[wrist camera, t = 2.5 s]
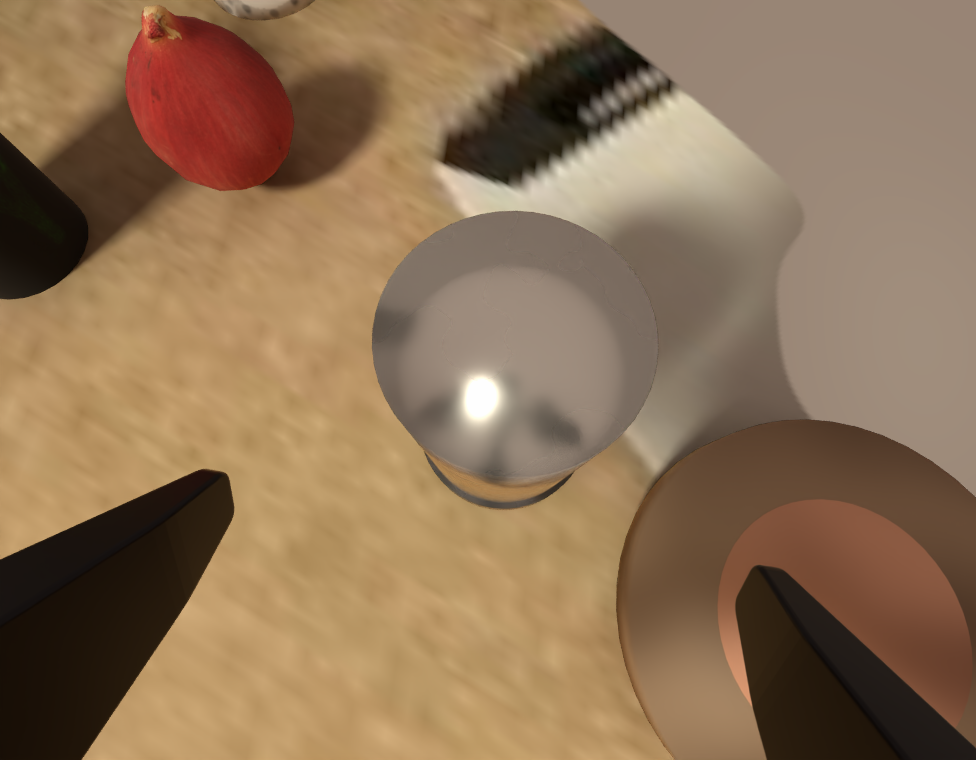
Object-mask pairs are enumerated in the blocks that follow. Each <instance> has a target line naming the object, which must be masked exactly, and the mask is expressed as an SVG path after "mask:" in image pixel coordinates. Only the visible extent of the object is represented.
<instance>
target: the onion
mask: <svg viewBox="0 0 976 760" xmlns="http://www.w3.org/2000/svg"><path fill="white" fill-rule="evenodd" d="M125 84H126V96H127V100H128V104H129V108H130V110H131V113H132V115H133V118H134V120H135V123H136V125H137V127H138V129H139V131H140V133H141V135H142V137H143V139H144V141H145V142H146V143H147V144H148V146H149V147H150V148H151V149H152V151H153V152H154V153H155V154H156V155H157V156H158V157H159V158H160V159H162V160H163V161H164V162H165V163H167V164H168V165H169V166H170V167H171V168H173V169H174V170H175V171H176V172H177V173H179V174H180V175H181V176H182V177H183V178H185V179H186V180H188V181H191V182H194V183H197V184H201V185H204V186H207V187H210V188H213V189H216V190H219V191H226V190H243V189H248V188H251V187H254V186H257V185H260V184H262V183H263V182H265V181H266V180H267V179H268V178H270V177H271V176H272V175H273V174H274V173H275V172H276V171H277V169H278V168H279V167H280V165H281V164H282V162H283V161H284V159H285V158H286V157H287V155H288V153H289V148H290V144H291V139H292V133H293V128H294V118H293V113H292V107H291V104H290V101H289V99H288V97H287V95H286V92H285V90H284V88H283V86H282V84H281V82H280V80H279V79H278V77H277V75H276V74H275V72H274V70H273V69H272V67H271V66H270V65H269V64H268V63H267V62H266V60H265V59H264V58H263V57H262V56H261V55H260V54H259V53H258V52H257V51H255V50H254V49H253V48H252V47H251V46H249V45H248V44H247V43H246V42H245V41H243V40H242V39H241V38H239V37H238V36H237V35H235V34H234V33H232V32H230V31H228V30H226V29H224V28H222V27H220V26H217V25H214V24H211V23H209V22H206V21H203V20H200V19H197V18H194V17H187V16H175V15H173V14H172V13H171V12H169V11H168V10H167V9H166V8H164V7H162V6H160V5H154V6H149V7H144V10H143V12H142V30H141V31H140V32H139V34H138V36H137V38H136V40H135V42H134V44H133V46H132V48H131V50H130V52H129V55H128V64H127V72H126V80H125Z"/></svg>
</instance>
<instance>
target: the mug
mask: <svg viewBox="0 0 976 760" xmlns="http://www.w3.org/2000/svg"><path fill="white" fill-rule="evenodd" d="M313 1H314V0H215V2H216V3H217V4H218V5H219V6H220V7H221V8H222V9H224V10H225V11H226V12H228V13H230V14H232V15H234V16H237V17H240V18H244V19H250V20H270V19H277V18H282V17H285V16H288V15H291V14H294V13H296V12H298V11H300V10H302V9H304V8H306V7H307V6H308V5H310V4H311V3H312V2H313Z"/></svg>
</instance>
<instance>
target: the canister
mask: <svg viewBox="0 0 976 760" xmlns="http://www.w3.org/2000/svg"><path fill="white" fill-rule="evenodd" d="M372 351H373V360H374V366H375V370H376V374H377V378H378V382H379V384H380V387H381V389H382V392H383V394H384V396H385V399H386V400H387V402H388V404H389V406H390V407H391V409H392V411H393V412H394V414H395V415H396V417H397V418H398V419H399V421H400V422H401V423H402V424H403V426H404V427H405V428H406V429H407V431H408V432H409V433H410V434H411V435H412V437H413V438H414V439H415V440H416V442H417V443H418V444H419V445H420V446H421V448H422V449H423V450H424V452H425V455H426V457H427V459H428V462H429V464H430V465H431V467H432V469H433V470H434V472H435V473H436V475H437V476H438V477H439V478H440V480H441V481H442V482H443V483H444V484H445V485H446V486H447V487H448V488H449V489H450V490H451V491H452V492H454V493H455V494H457V495H458V496H459V497H461V498H463V499H464V500H466V501H468V502H470V503H472V504H475V505H478V506H480V507H485V508H489V509H497V510H512V509H518V508H523V507H526V506H529V505H533V504H535V503H537V502H539V501H541V500H543V499H545V498H546V497H548V496H549V495H551V494H552V493H554V492H555V491H557V490H558V489H559V488H560V487H561V486H562V485H564V484H565V482H566V481H567V480H568V479H569V478H570V477H571V475H572V474H573V472H574V471H575V470H576V469H578V468H579V467H581V466H582V465H583V464H585V463H586V462H588V461H589V460H590V459H592V458H593V457H595V456H596V455H597V454H599V453H600V452H601V451H603V450H604V449H606V448H607V447H608V446H609V445H610V444H612V443H613V442H614V441H615V440H616V439H617V438H618V437H620V436H621V435H622V434H623V432H624V431H625V430H626V429H627V428H628V427H629V425H630V424H631V423H632V422H633V421H634V419H635V418H636V416H637V414H638V413H639V411H640V410H641V408H642V407H643V405H644V403H645V401H646V398H647V396H648V394H649V392H650V389H651V386H652V383H653V379H654V376H655V372H656V366H657V359H658V333H657V326H656V320H655V316H654V312H653V309H652V306H651V302H650V300H649V298H648V296H647V293H646V291H645V289H644V287H643V285H642V283H641V282H640V280H639V279H638V277H637V275H636V274H635V272H634V271H633V270H632V268H631V267H630V266H629V265H628V263H627V262H626V261H625V260H624V258H623V257H621V256H620V255H619V254H618V253H617V252H616V251H615V250H614V249H613V248H612V247H611V246H610V245H608V244H607V243H606V242H604V241H603V240H602V239H600V238H599V237H598V236H596V235H595V234H593V233H591V232H589V231H588V230H586V229H584V228H583V227H580V226H578V225H576V224H573V223H571V222H569V221H567V220H563V219H560V218H557V217H554V216H550V215H545V214H540V213H535V212H524V211H501V212H493V213H486V214H480V215H477V216H473V217H469V218H466V219H463V220H460V221H458V222H455V223H453V224H450V225H448V226H446V227H445V228H443V229H441V230H439V231H437V232H435V233H434V234H432V235H431V236H430V237H428V238H427V239H425V240H424V241H422V242H421V243H420V244H419V245H418V246H417V247H415V248H414V249H413V250H412V251H411V252H410V253H409V254H408V255H407V256H406V257H405V258H404V260H403V261H402V262H401V263H400V264H399V265H398V267H397V268H396V270H395V271H394V273H393V274H392V276H391V277H390V279H389V280H388V282H387V284H386V286H385V288H384V291H383V293H382V295H381V297H380V300H379V303H378V306H377V310H376V313H375V319H374V324H373V333H372Z"/></svg>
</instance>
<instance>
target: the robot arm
mask: <svg viewBox="0 0 976 760" xmlns="http://www.w3.org/2000/svg"><path fill="white" fill-rule="evenodd" d="M233 515H234V502H233V497H232V491H231V486H230V480H229V477H228V475H227V474H226V473H224V472H221V471H215V470H209V469H201V470H198V471H195V472H193V473H191V474H189V475H187V476H184V477H182V478H180V479H178V480H175V481H173V482H171V483H169V484H167V485H164V486H162V487H160V488H158V489H156V490H153V491H151V492H149V493H147V494H144V495H142V496H140V497H138V498H136V499H133V500H131V501H129V502H127V503H125V504H122V505H120V506H118V507H116V508H113V509H111V510H109V511H107V512H105V513H102V514H100V515H98V516H96V517H94V518H91V519H89V520H87V521H85V522H82V523H80V524H78V525H76V526H74V527H71V528H69V529H67V530H65V531H63V532H60V533H58V534H56V535H54V536H51V537H49V538H47V539H45V540H43V541H40V542H38V543H36V544H34V545H31V546H29V547H27V548H25V549H23V550H20V551H18V552H16V553H14V554H11V555H9V556H7V557H5V558H3V559H0V760H82V758H83V757H84V755H85V754H86V753H87V751H88V750H89V748H90V747H91V745H92V744H93V742H94V741H95V739H96V738H97V736H98V735H99V733H100V732H101V730H102V729H103V727H104V726H105V724H106V723H107V721H108V720H109V718H110V717H111V715H112V714H113V712H114V711H115V709H116V708H117V706H118V705H119V703H120V702H121V701H122V699H123V698H124V696H125V695H126V693H127V692H128V690H129V689H130V687H131V686H132V684H133V683H134V681H135V680H136V678H137V677H138V675H139V674H140V672H141V671H142V669H143V668H144V666H145V665H146V663H147V662H148V660H149V659H150V657H151V656H152V654H153V653H154V651H155V650H156V648H157V647H158V646H159V644H160V643H161V641H162V640H163V638H164V637H165V635H166V634H167V632H168V631H169V629H170V628H171V626H172V625H173V623H174V622H175V620H176V619H177V617H178V616H179V614H180V613H181V611H182V610H183V608H184V606H185V605H186V603H187V602H188V600H189V598H190V597H191V595H192V593H193V591H194V590H195V588H196V586H197V584H198V582H199V580H200V579H201V577H202V575H203V573H204V571H205V569H206V567H207V566H208V564H209V562H210V560H211V558H212V556H213V554H214V553H215V551H216V549H217V547H218V545H219V543H220V541H221V540H222V538H223V536H224V534H225V532H226V530H227V529H228V527H229V525H230V523H231V521H232V518H233ZM735 613H736V619H737V624H738V630H739V636H740V641H741V647H742V653H743V659H744V664H745V670H746V676H747V681H748V687H749V693H750V698H751V702H752V707H753V712H754V715H755V719H756V723H757V727H758V731H759V734H760V738H761V741H762V745H763V748H764V752H765V756H766V759H767V760H976V747H975V746H974V745H973V744H972V743H971V742H969V741H968V740H967V739H966V738H965V737H964V736H963V735H962V734H961V733H960V732H959V731H958V730H957V729H955V728H954V727H953V726H952V725H951V724H950V723H949V722H948V721H947V720H946V719H945V718H944V717H942V716H941V715H940V714H939V713H938V712H937V711H936V710H935V709H934V708H933V707H932V706H931V705H930V704H928V703H927V702H926V701H925V700H924V699H923V698H922V697H921V696H920V695H919V694H918V693H917V692H915V691H914V690H913V689H912V688H911V687H910V686H909V685H908V684H907V683H906V682H905V681H904V680H903V679H901V678H900V677H899V676H898V675H897V674H896V673H895V672H894V671H893V670H892V669H891V668H890V667H888V666H887V665H886V664H885V663H884V662H883V661H882V660H881V659H880V658H879V657H878V656H877V655H876V654H874V653H873V652H872V651H871V650H870V649H869V648H868V647H867V646H866V645H865V644H864V643H863V642H861V641H860V640H859V639H858V638H857V637H856V636H855V635H854V634H853V633H852V632H851V631H850V630H849V629H847V628H846V627H845V626H844V625H843V624H842V623H841V622H840V621H839V620H838V619H837V618H836V617H834V616H833V615H832V614H831V613H830V612H829V611H828V610H827V609H826V608H825V607H824V606H823V605H822V604H820V603H819V602H818V601H817V600H816V599H815V598H814V597H813V596H812V595H811V594H810V593H809V592H807V591H806V590H805V589H804V588H803V587H802V586H801V585H800V584H799V583H798V582H797V581H796V580H795V579H793V578H792V577H791V576H790V575H789V574H788V573H787V572H786V571H784V570H783V569H780V568H776V567H771V566H765V565H755V566H754V567H752V569H751V570H750V572H749V574H748V576H747V578H746V580H745V581H744V583H743V585H742V587H741V589H740V591H739V593H738V595H737V597H736V601H735Z"/></svg>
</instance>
